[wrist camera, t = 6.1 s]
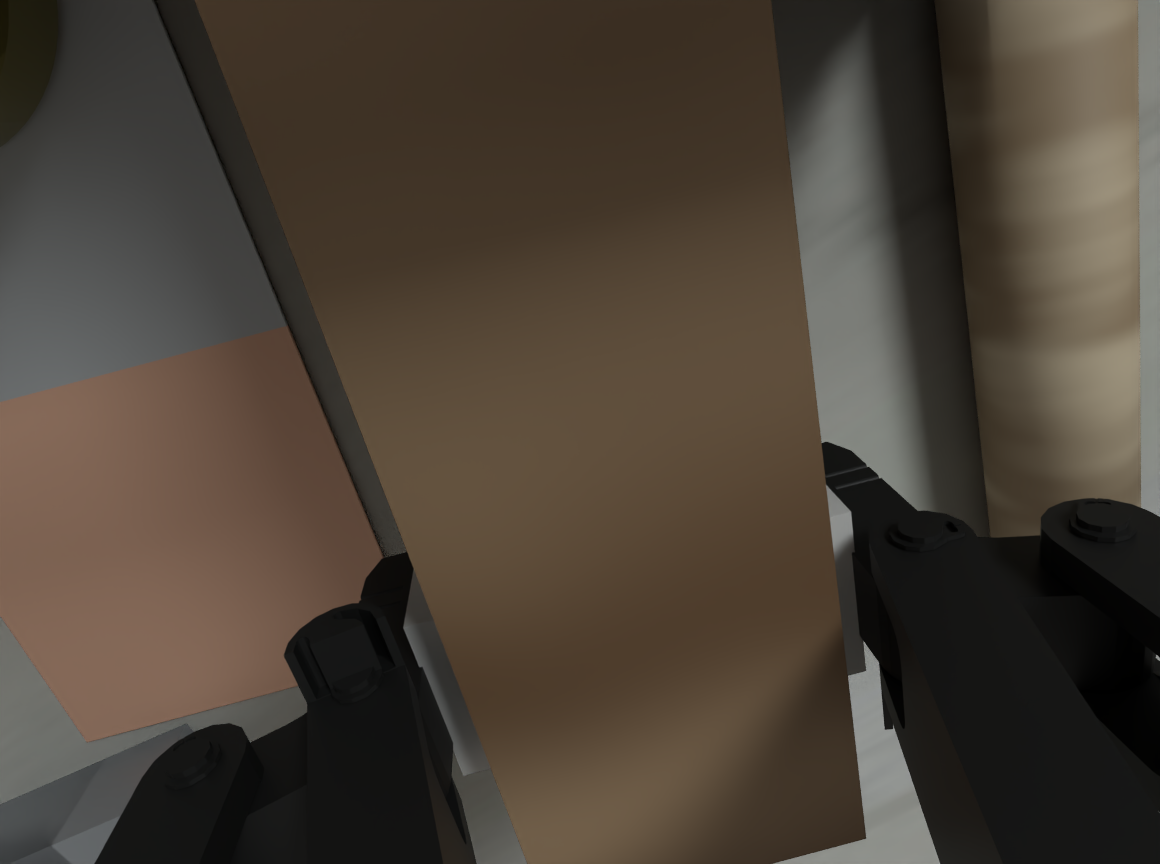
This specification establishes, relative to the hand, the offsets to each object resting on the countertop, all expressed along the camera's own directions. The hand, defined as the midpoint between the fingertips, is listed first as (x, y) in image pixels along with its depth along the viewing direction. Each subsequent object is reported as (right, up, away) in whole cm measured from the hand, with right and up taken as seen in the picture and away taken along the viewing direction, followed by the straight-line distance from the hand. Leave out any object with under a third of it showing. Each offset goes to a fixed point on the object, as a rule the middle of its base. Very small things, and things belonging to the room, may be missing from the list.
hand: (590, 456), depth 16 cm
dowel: (+11, +2, 0) cm, 12 cm away
